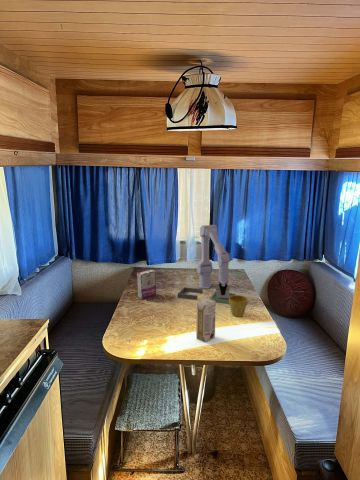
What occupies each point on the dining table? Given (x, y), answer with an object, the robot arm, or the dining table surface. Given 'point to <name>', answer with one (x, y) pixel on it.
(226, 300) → the tray
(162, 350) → the dining table surface
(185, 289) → the frame
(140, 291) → the candy bar box
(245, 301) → the plant pot
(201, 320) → the juice carton
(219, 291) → the grey upright block
